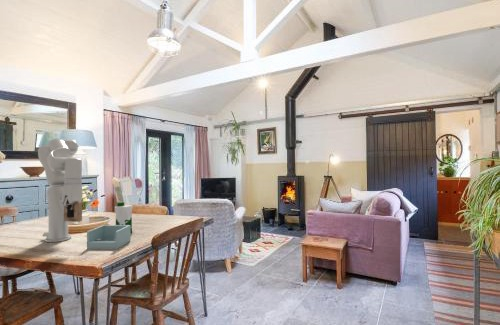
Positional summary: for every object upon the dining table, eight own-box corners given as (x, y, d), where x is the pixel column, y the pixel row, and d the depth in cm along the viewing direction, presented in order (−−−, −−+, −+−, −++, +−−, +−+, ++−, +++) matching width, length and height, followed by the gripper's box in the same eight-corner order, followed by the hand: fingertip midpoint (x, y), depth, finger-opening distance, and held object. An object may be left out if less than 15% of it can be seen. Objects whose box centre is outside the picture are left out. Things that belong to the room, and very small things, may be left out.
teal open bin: (86, 248, 140) (86, 231, 140) (103, 240, 155) (103, 225, 155) (117, 248, 140) (117, 231, 140) (130, 240, 155) (130, 225, 155)
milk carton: (122, 232, 175) (122, 201, 175) (134, 232, 173) (134, 201, 173) (112, 235, 166) (112, 203, 166) (125, 236, 164) (125, 203, 165)
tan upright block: (63, 221, 139) (63, 202, 139) (66, 220, 142) (67, 201, 142) (78, 221, 139) (78, 202, 139) (81, 220, 142) (82, 201, 142)
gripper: (76, 180, 148) (75, 213, 149) (54, 182, 132) (54, 219, 132) (89, 180, 148) (89, 213, 148) (69, 183, 132) (69, 220, 132)
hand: (72, 216), depth 140 cm, fingers closed on tan upright block, 2 cm apart
